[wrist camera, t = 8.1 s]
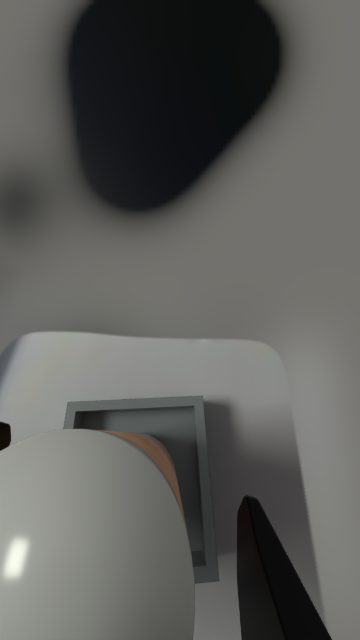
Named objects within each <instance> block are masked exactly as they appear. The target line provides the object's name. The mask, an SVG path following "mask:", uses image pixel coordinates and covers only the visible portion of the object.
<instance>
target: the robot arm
mask: <svg viewBox="0 0 360 640" xmlns="http://www.w3.org/2000/svg"><path fill="white" fill-rule="evenodd" d="M10 442H11V429H10V425H9V424H7V423H4V422H0V451H1V450H3V449H5V448H7V447H8V446H9V445H10ZM237 584H238V598H239V611H240V624H241V637H242V640H332V639H331V637H330V635H329V633H328V631H327V629H326V627H325V626H324V624H323V622H322V620H321V618H320V616H319V614H318V612H317V610H316V609H315V607H314V605H313V603H312V601H311V599H310V597H309V595H308V593H307V592H306V590H305V588H304V586H303V584H302V582H301V580H300V578H299V576H298V575H297V573H296V571H295V569H294V567H293V565H292V563H291V561H290V559H289V557H288V556H287V554H286V552H285V550H284V548H283V546H282V544H281V542H280V540H279V539H278V537H277V535H276V533H275V531H274V529H273V527H272V525H271V523H270V522H269V520H268V518H267V516H266V514H265V512H264V510H263V508H262V506H261V505H260V503H259V501H258V500H257V499H256V498H254V497H251V496H248V495H246V496H244V498H243V500H242V503H241V505H240V507H239V510H238V515H237Z"/></svg>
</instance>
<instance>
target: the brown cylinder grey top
mask: <svg viewBox="0 0 360 640" xmlns="http://www.w3.org/2000/svg"><path fill="white" fill-rule="evenodd" d="M194 618H195V583H194V574H193V565H192V556H191V551H190V545H189V540H188V535H187V529H186V524H185V519H184V513H183V508H182V502H181V497H180V492H179V486H178V481H177V476H176V470H175V465H174V461H173V458H172V455H171V453H170V451H169V450H168V448H167V447H166V446H165V444H164V443H163V442H162V441H161V440H159V439H158V438H156V437H154V436H152V435H149V434H145V433H133V432H118V431H104V430H89V429H62V430H54V431H49V432H45V433H41V434H37V435H34V436H31V437H29V438H26V439H24V440H21V441H19V442H16V443H15V444H13V445H11V446H9V447H7V448H5V449H3V450H1V451H0V640H193V632H194Z"/></svg>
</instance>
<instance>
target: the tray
mask: <svg viewBox="0 0 360 640" xmlns="http://www.w3.org/2000/svg"><path fill="white" fill-rule="evenodd" d="M63 429H89V430H104V431H118V432H133V433H145V434H149V435H152V436H154V437H156V438H158V439H159V440H161V441H162V442H163V443H164V444H165V446H166V447H167V448H168V450H169V451H170V453H171V455H172V458H173V461H174V465H175V470H176V476H177V481H178V486H179V492H180V497H181V502H182V508H183V513H184V519H185V524H186V529H187V535H188V540H189V545H190V551H191V556H192V565H193V574H194V583H205V582H216V581H219V572H218V561H217V550H216V539H215V528H214V517H213V505H212V494H211V483H210V472H209V461H208V450H207V439H206V428H205V416H204V405H203V396H188V397H166V398H145V399H123V400H101V401H79V402H68V403H67V409H66V415H65V421H64V428H63Z"/></svg>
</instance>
